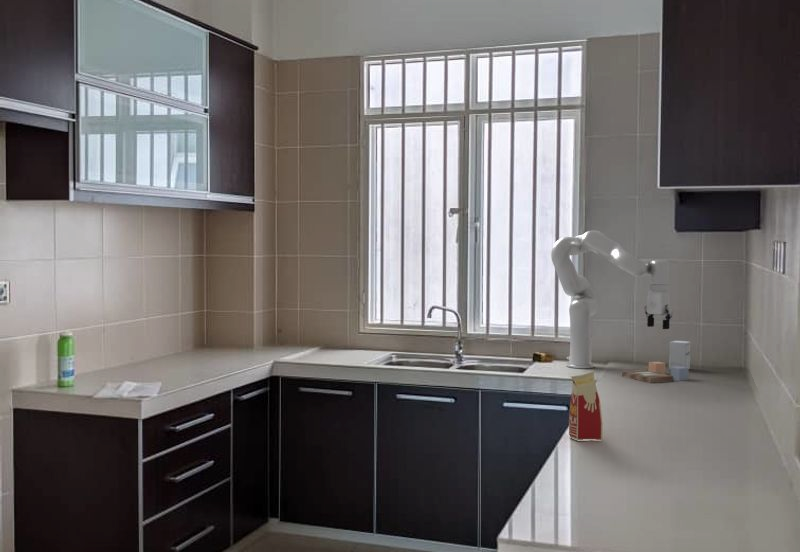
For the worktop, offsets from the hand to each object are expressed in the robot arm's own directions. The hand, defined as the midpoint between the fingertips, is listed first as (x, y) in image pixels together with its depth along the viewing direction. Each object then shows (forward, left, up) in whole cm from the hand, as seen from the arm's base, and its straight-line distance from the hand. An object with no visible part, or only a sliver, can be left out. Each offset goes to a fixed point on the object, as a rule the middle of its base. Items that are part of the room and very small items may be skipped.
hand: (658, 327), depth 354 cm
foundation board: (+8, -12, -20) cm, 25 cm away
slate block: (+14, 0, -20) cm, 25 cm away
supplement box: (-6, +18, -20) cm, 28 cm away
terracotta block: (0, 0, -20) cm, 20 cm away
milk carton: (+83, -98, -20) cm, 130 cm away
